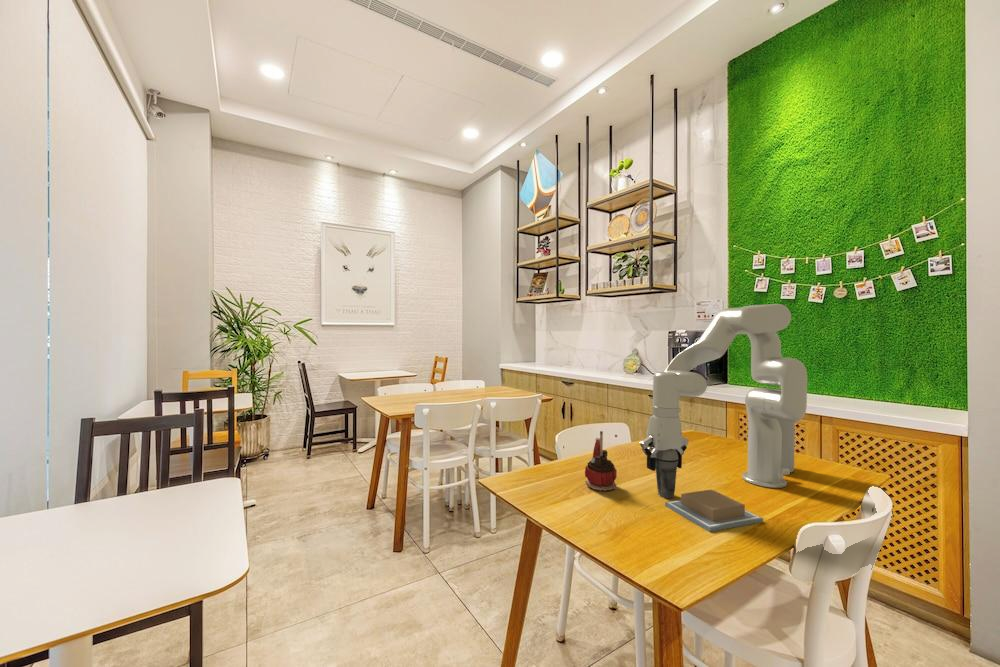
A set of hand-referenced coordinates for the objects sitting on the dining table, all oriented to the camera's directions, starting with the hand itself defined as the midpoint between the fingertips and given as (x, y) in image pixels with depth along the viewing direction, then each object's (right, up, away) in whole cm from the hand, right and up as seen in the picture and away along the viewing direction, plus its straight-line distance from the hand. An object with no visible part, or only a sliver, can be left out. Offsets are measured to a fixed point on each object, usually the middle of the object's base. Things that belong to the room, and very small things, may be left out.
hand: (664, 468), depth 124 cm
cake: (-18, -9, +7) cm, 21 cm away
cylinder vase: (+52, -9, +26) cm, 59 cm away
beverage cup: (+1, -9, 0) cm, 9 cm away
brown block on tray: (+8, -9, -12) cm, 17 cm away
